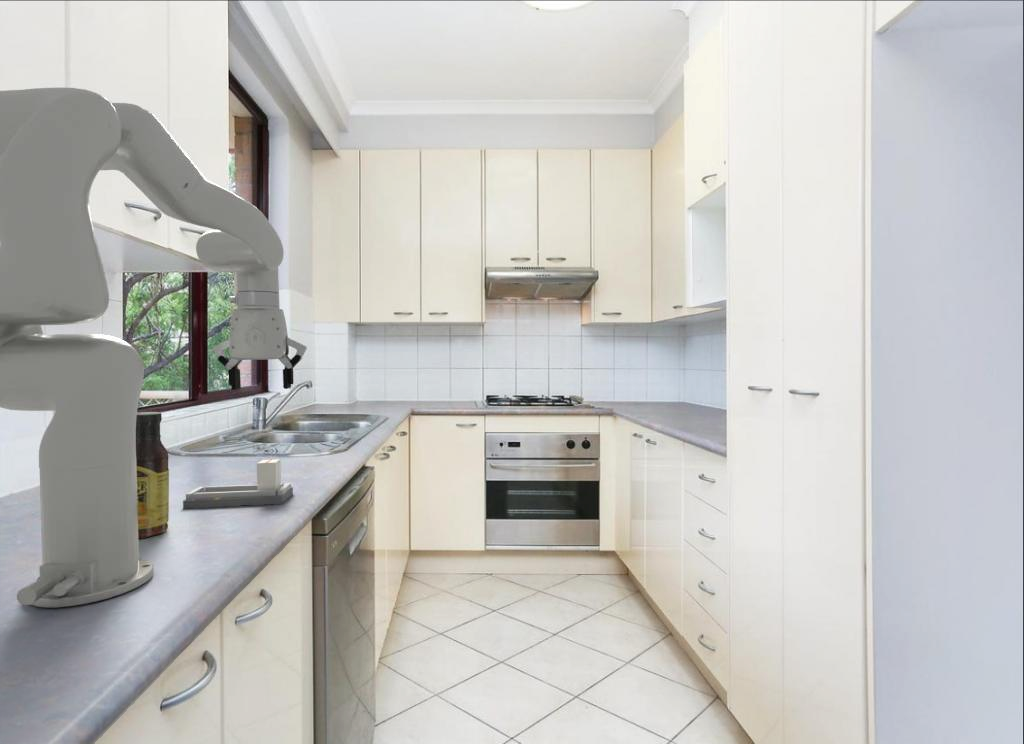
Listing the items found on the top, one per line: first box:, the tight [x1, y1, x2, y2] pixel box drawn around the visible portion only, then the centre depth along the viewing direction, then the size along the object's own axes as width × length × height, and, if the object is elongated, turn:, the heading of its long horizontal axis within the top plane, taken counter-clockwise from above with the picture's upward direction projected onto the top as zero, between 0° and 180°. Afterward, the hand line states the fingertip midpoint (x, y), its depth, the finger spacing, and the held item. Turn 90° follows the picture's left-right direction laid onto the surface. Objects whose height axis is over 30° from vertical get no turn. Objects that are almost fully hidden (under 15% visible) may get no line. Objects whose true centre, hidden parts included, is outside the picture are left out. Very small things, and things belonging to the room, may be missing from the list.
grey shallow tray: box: [182, 482, 294, 509], centre depth 108 cm, size 8×18×2 cm, turn 98°
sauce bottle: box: [136, 411, 170, 539], centre depth 87 cm, size 6×6×20 cm
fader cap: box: [256, 458, 282, 491], centre depth 108 cm, size 4×4×6 cm
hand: (261, 388), depth 107 cm, fingers open, 9 cm apart
